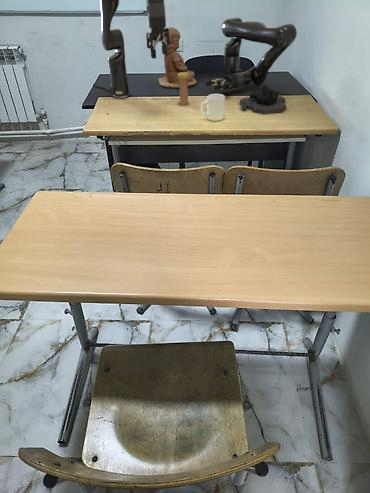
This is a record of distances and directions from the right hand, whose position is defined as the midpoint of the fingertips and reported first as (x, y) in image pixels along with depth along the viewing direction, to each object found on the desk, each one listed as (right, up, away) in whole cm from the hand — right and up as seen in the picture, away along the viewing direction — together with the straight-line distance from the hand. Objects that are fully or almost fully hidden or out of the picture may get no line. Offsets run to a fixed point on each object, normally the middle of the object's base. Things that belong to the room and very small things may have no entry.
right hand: (210, 85), depth 195 cm
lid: (-15, +1, -11) cm, 18 cm away
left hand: (-26, 0, -30) cm, 39 cm away
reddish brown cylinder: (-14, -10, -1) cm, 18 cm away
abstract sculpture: (+28, -14, -8) cm, 32 cm away
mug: (-1, -25, -19) cm, 31 cm away
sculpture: (-18, +15, +29) cm, 38 cm away
